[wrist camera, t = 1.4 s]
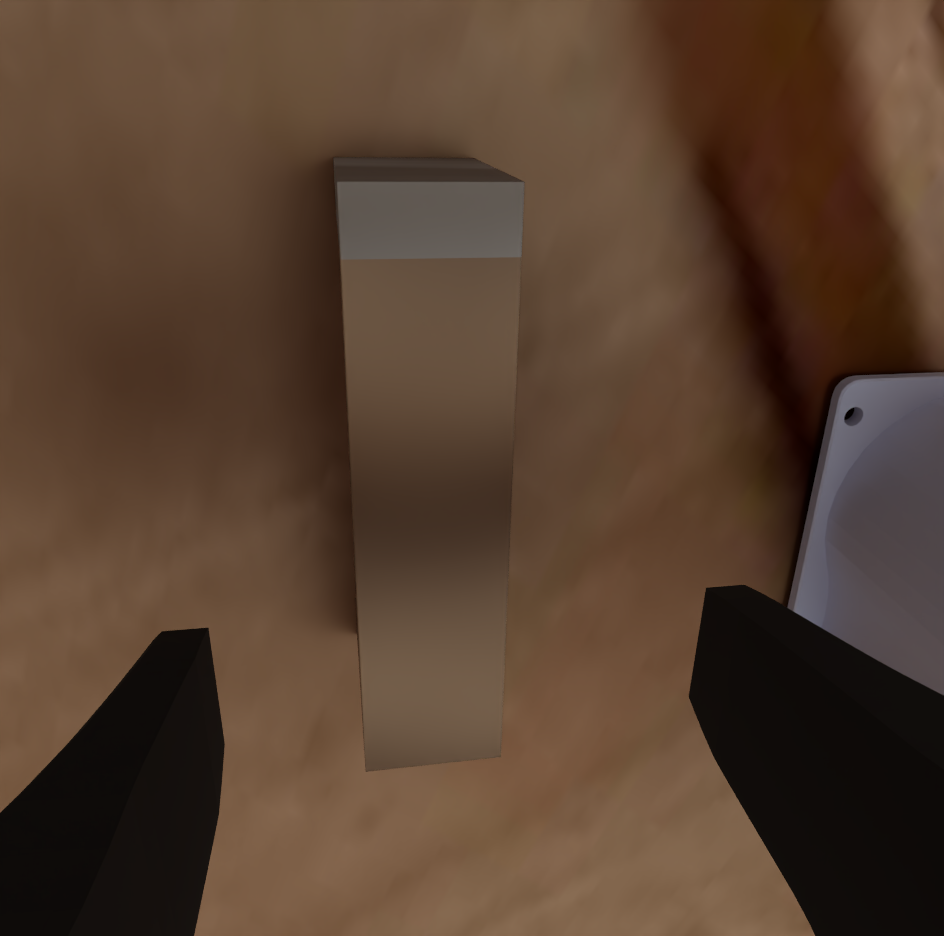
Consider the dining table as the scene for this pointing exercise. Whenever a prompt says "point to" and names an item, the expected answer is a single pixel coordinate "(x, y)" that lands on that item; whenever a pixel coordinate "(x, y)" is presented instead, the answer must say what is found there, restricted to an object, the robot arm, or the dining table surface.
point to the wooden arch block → (430, 445)
